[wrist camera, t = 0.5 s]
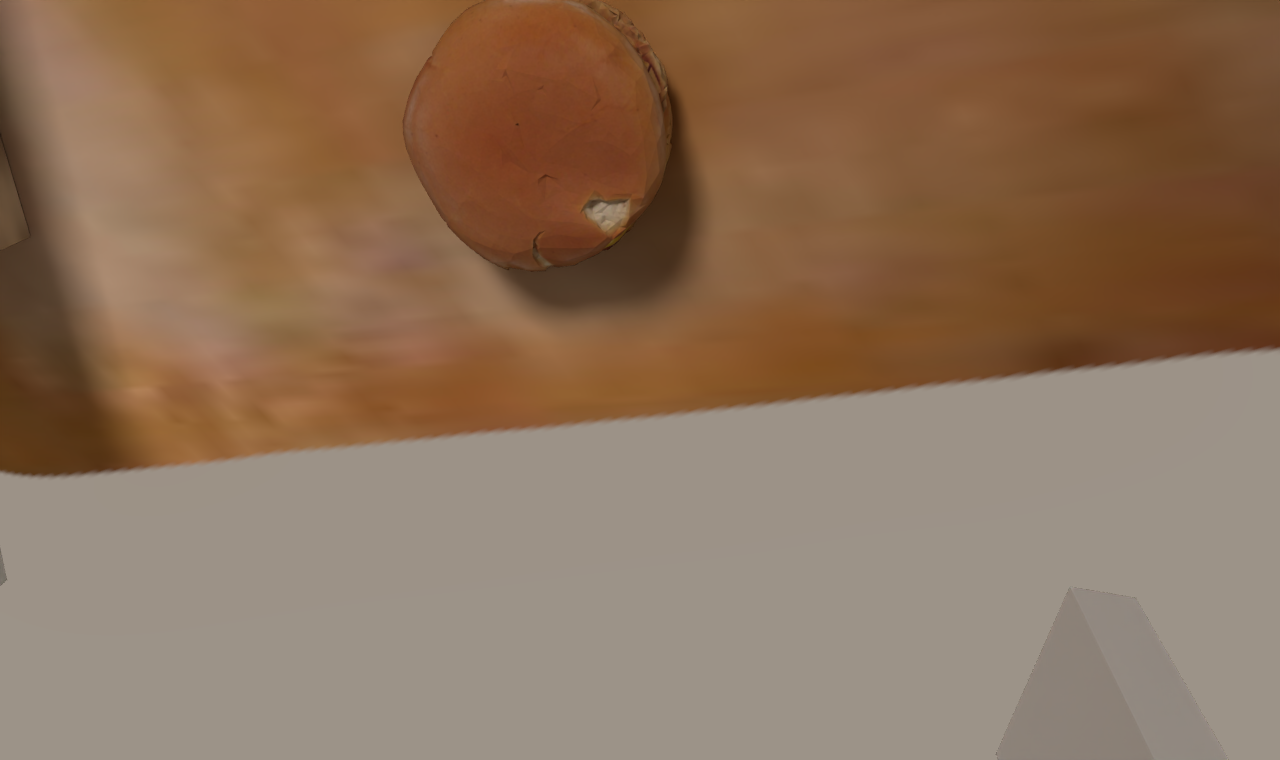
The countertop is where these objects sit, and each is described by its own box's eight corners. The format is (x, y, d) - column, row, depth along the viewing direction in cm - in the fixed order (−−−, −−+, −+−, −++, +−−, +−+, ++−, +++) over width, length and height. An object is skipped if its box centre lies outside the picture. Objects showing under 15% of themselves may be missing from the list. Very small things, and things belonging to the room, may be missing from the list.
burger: (468, -57, 33) (429, -51, 29) (713, 41, 34) (710, 60, 30) (404, 198, 38) (363, 234, 34) (622, 280, 38) (608, 325, 34)
